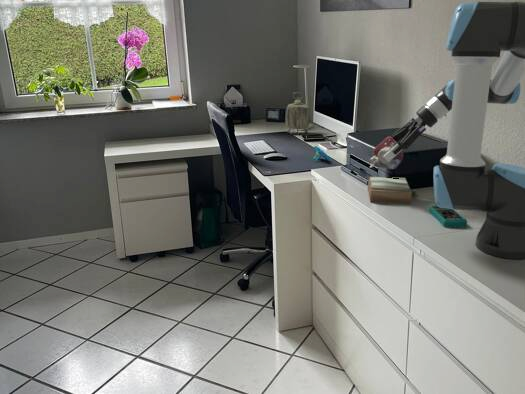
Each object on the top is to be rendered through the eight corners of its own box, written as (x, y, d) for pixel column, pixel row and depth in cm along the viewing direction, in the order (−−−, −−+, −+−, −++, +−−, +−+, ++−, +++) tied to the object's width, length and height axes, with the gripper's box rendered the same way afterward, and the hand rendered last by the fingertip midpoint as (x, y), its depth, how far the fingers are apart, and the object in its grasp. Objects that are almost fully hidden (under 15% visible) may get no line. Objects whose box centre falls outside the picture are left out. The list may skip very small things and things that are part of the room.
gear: (334, 159, 234) (319, 145, 232) (325, 169, 234) (310, 154, 232) (326, 157, 245) (312, 143, 242) (318, 166, 245) (304, 152, 242)
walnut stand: (410, 204, 178) (412, 190, 176) (370, 202, 180) (371, 188, 178) (404, 189, 195) (405, 177, 193) (367, 187, 197) (368, 175, 195)
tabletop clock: (309, 132, 308) (310, 91, 301) (309, 135, 300) (310, 93, 292) (285, 132, 310) (286, 91, 302) (285, 135, 301) (285, 92, 293)
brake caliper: (409, 158, 186) (404, 135, 177) (399, 180, 181) (394, 159, 173) (379, 154, 192) (374, 132, 183) (369, 176, 187) (363, 155, 179)
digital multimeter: (444, 229, 156) (445, 220, 155) (427, 213, 170) (428, 204, 169) (467, 229, 156) (468, 220, 155) (449, 212, 170) (450, 204, 170)
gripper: (447, 125, 167) (396, 170, 173) (430, 115, 189) (384, 155, 194) (433, 109, 166) (381, 155, 172) (417, 100, 187) (371, 141, 193)
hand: (383, 155), depth 183 cm, fingers closed on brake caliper, 10 cm apart
